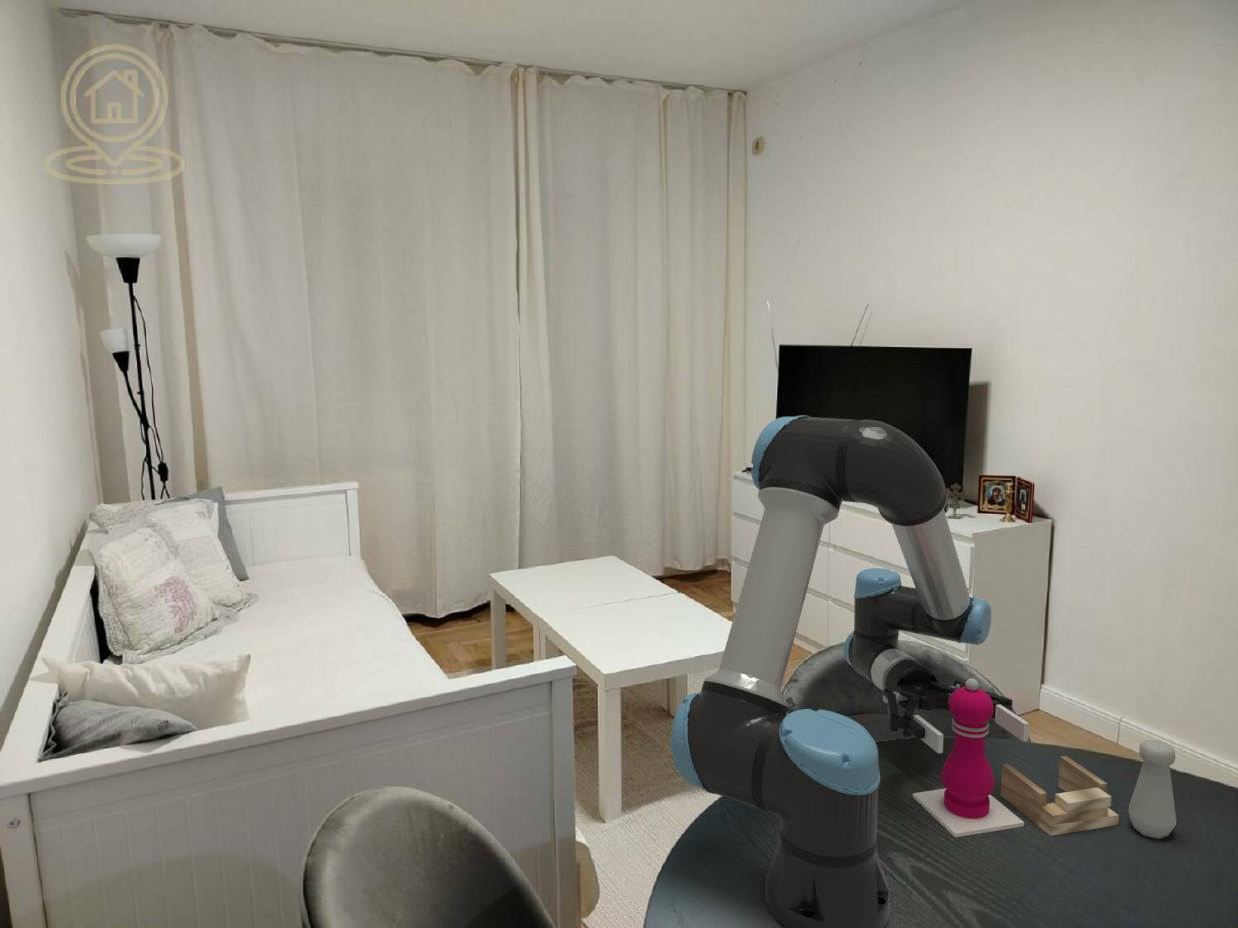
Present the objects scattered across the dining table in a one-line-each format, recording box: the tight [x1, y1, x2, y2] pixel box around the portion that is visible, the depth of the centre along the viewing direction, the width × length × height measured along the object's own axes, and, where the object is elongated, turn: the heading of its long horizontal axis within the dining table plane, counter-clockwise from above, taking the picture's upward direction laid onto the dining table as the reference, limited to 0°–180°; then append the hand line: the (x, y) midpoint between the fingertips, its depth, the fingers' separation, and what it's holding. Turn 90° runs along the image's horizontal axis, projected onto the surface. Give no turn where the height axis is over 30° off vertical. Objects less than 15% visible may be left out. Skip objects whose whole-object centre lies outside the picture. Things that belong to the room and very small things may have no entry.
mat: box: [912, 787, 1025, 838], centre depth 130 cm, size 11×11×1 cm
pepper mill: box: [941, 678, 995, 818], centre depth 128 cm, size 7×7×20 cm
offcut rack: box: [1000, 755, 1120, 837], centre depth 130 cm, size 11×11×5 cm
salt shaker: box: [1128, 739, 1177, 840], centre depth 123 cm, size 6×6×13 cm
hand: (984, 738), depth 125 cm, fingers open, 13 cm apart
